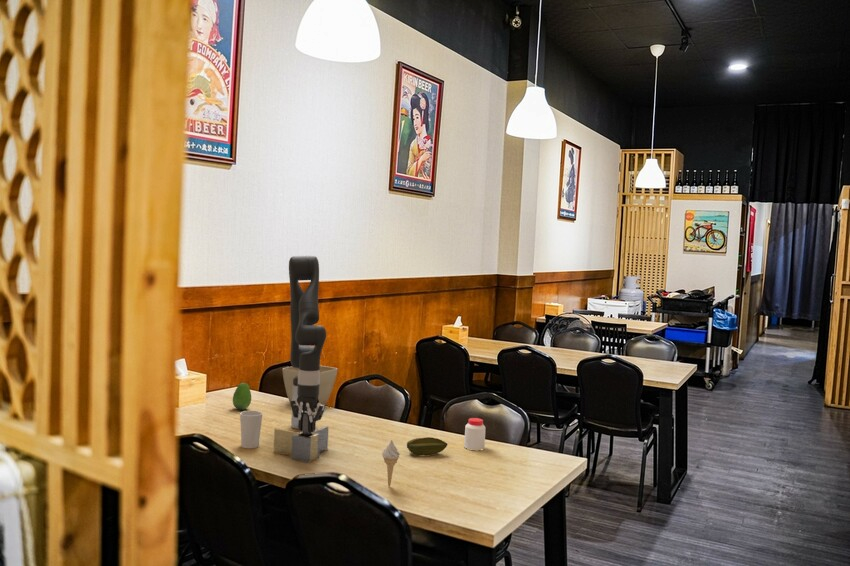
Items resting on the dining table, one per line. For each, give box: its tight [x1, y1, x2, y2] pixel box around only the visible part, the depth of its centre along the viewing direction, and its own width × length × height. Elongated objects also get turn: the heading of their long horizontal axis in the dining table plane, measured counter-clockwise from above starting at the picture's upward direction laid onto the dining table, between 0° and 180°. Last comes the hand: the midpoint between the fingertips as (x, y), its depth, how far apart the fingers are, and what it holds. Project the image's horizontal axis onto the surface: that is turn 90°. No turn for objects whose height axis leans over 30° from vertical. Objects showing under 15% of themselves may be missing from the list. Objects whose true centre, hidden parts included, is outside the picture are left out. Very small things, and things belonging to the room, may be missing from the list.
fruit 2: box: [406, 436, 448, 456], centre depth 257 cm, size 11×12×7 cm
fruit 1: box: [232, 382, 252, 411], centre depth 309 cm, size 8×8×12 cm
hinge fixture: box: [273, 425, 329, 463], centre depth 251 cm, size 17×17×8 cm
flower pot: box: [282, 365, 338, 405], centre depth 326 cm, size 19×19×17 cm
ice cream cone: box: [381, 439, 401, 487], centre depth 220 cm, size 6×6×15 cm
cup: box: [239, 410, 263, 449], centre depth 256 cm, size 8×8×12 cm
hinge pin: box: [301, 412, 311, 437], centre depth 244 cm, size 3×3×12 cm
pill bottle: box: [463, 417, 486, 450], centre depth 268 cm, size 8×8×11 cm
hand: (306, 431), depth 244 cm, fingers open, 3 cm apart
